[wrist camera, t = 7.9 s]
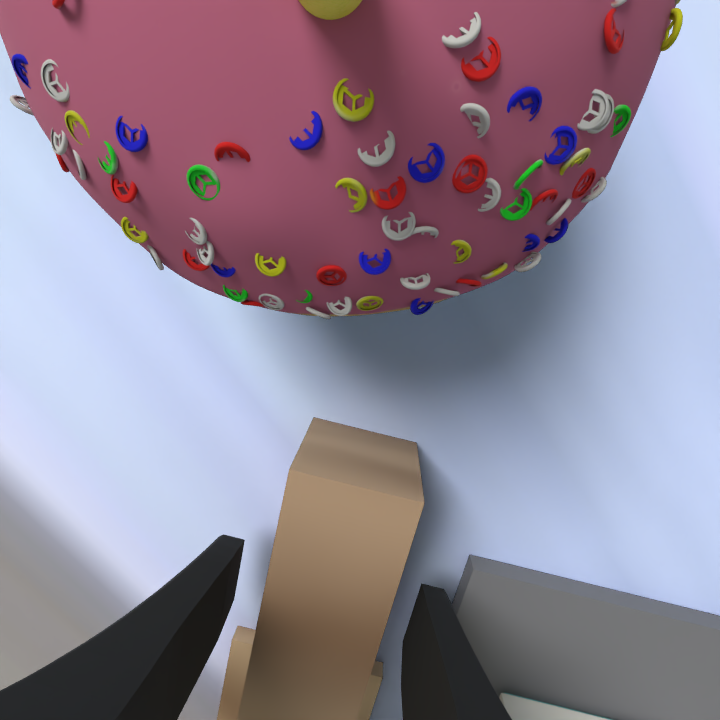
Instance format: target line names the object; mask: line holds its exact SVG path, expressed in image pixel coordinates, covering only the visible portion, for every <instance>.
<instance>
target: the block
mask: <svg viewBox="0 0 720 720" xmlns="http://www.w3.org/2000/svg"><path fill="white" fill-rule="evenodd" d="M499 698H500V700H501V702H502V704H503V705H504V707H505V709H506V710H507V712H508V714H509V715H510V717H511V719H512V720H613V719H609V718H605V717H601V716H597V715H593V714H589V713H585V712H581V711H577V710H573V709H569V708H565V707H561V706H557V705H553V704H549V703H545V702H541V701H537V700H533V699H529V698H525V697H521V696H517V695H513V694H509V693H505V692H504V693H501V694H500V697H499Z"/></svg>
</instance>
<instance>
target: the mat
mask: <svg viewBox="0 0 720 720" xmlns="http://www.w3.org/2000/svg"><path fill="white" fill-rule="evenodd" d="M452 607H453V609H454V611H455V613H456V616H457V618H458V620H459V622H460V624H461V626H462V628H463V630H464V632H465V634H466V636H467V639H468V641H469V643H470V645H471V647H472V649H473V651H474V652H475V654H476V656H477V658H478V660H479V662H480V664H481V666H482V668H483V670H484V671H485V673H486V675H487V677H488V679H489V681H490V682H491V684H492V686H493V688H494V690H495V691H496V693H497V695H498V697H500V694H501V693H504V692H505V693H509V694H513V695H517V696H521V697H525V698H529V699H533V700H537V701H541V702H545V703H549V704H553V705H557V706H561V707H565V708H569V709H573V710H577V711H581V712H585V713H589V714H593V715H597V716H601V717H605V718H609V719H613V720H720V616H718V615H714V614H709V613H705V612H701V611H697V610H693V609H689V608H685V607H681V606H677V605H673V604H669V603H665V602H661V601H657V600H652V599H648V598H644V597H640V596H636V595H632V594H628V593H624V592H620V591H616V590H612V589H608V588H604V587H600V586H595V585H591V584H587V583H583V582H579V581H575V580H571V579H567V578H563V577H559V576H555V575H551V574H547V573H543V572H538V571H534V570H530V569H526V568H522V567H518V566H514V565H510V564H506V563H502V562H498V561H494V560H490V559H485V558H481V557H477V556H473V555H469V558H468V561H467V563H466V566H465V569H464V572H463V575H462V578H461V580H460V583H459V586H458V589H457V592H456V594H455V597H454V600H453V603H452Z"/></svg>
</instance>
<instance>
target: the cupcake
mask: <svg viewBox="0 0 720 720" xmlns="http://www.w3.org/2000/svg"><path fill="white" fill-rule="evenodd" d="M679 2H680V0H0V34H1V36H2V39H3V42H4V44H5V47H6V50H7V52H8V55H9V58H10V60H11V63H12V66H13V68H14V71H15V74H16V77H17V79H18V82H19V84H20V87H21V89H22V91H23V94H24V96H25V98H24V97H21V96H17V95H12V96H11V97H10V101H11V103H12V104H13V105H14V106H16V107H17V108H19V109H20V110H22V111H24V112H26V113H28V114H31V115H34V116H35V118H36V119H37V121H38V123H39V125H40V126H41V128H42V129H43V131H44V132H45V134H46V135H47V137H48V139H49V140H50V142H51V144H52V148H53V150H54V152H55V153H56V156H57V159H58V161H59V163H60V165H61V167H62V169H63V170H64V171H65V172H69V171H70V172H71V173H72V175H73V176H74V177H75V179H76V180H77V181H78V182H79V183H80V185H81V186H82V187H83V188H84V189H85V190H86V191H87V193H88V194H89V195H90V196H91V197H92V198H93V199H94V200H95V201H96V202H97V203H98V204H99V205H100V206H101V207H102V208H103V209H104V210H105V211H106V212H107V213H108V215H109V216H111V217H112V218H113V219H114V220H115V221H116V222H117V223H118V224H119V225H120V226H121V227H122V230H123V232H124V233H125V235H126V236H127V237H128V238H129V239H130V240H132V241H134V242H136V243H139V244H140V245H141V246H142V247H144V248H145V249H146V250H147V251H148V252H149V253H150V254H151V256H152V258H153V260H154V261H155V263H156V265H157V266H158V268H159V269H160V270H163V269H164V267H163V264H164V265H166V266H167V267H168V268H170V269H171V270H173V271H174V272H175V273H177V274H179V275H180V276H182V277H183V278H185V279H187V280H189V281H190V282H192V283H194V284H196V285H198V286H200V287H203V288H205V289H207V290H209V291H212V292H214V293H217V294H219V295H222V296H225V297H228V298H230V299H232V300H234V301H237V302H241V304H243V305H252V306H259V307H263V308H267V309H272V310H276V311H281V312H287V313H294V314H301V315H311V316H319V317H322V318H325V319H330V318H331V316H357V315H368V314H377V313H385V312H392V311H400V310H406V309H410V310H411V312H412V313H413V314H415V315H420V314H423V313H425V312H426V311H428V310H429V309H430V308H431V306H432V305H433V304H434V303H438V302H440V301H443V300H445V299H448V298H451V297H454V296H459V295H460V294H463V293H466V292H469V291H472V290H474V289H477V288H480V287H482V286H485V285H487V284H490V283H492V282H494V281H496V280H498V279H501V278H502V277H504V276H506V275H508V274H510V273H511V272H513V271H514V270H516V271H517V272H525V271H528V270H530V269H532V268H534V267H535V266H536V265H537V264H538V263H539V262H540V260H541V254H540V253H539V251H540V250H541V249H543V248H544V247H545V246H546V245H547V244H548V243H553V242H556V241H558V240H559V239H561V238H562V237H563V235H564V234H565V233H566V231H567V228H568V224H569V223H570V222H571V221H572V220H573V219H574V218H575V217H576V216H577V214H578V213H579V212H580V211H581V210H582V209H583V208H584V207H585V205H586V204H587V203H588V202H589V201H591V200H593V199H595V198H596V197H597V196H598V195H600V194H601V193H602V191H603V190H604V189H605V187H606V184H607V181H606V179H605V177H606V176H607V174H608V172H609V171H610V169H611V167H612V164H613V162H614V160H615V158H616V156H617V154H618V151H619V149H620V147H621V145H622V143H623V140H624V138H625V136H626V134H627V132H628V130H629V128H630V125H631V123H632V121H633V119H634V117H635V114H636V112H637V110H638V107H639V105H640V103H641V101H642V98H643V96H644V93H645V91H646V88H647V86H648V83H649V81H650V78H651V76H652V73H653V71H654V68H655V65H656V63H657V60H658V57H659V55H660V52H661V51H665V50H667V49H668V48H669V47H670V46H671V45H672V44H673V43H674V41H675V40H676V38H677V36H678V34H679V32H680V29H681V26H682V20H683V16H682V12H681V10H680V9H679V8H675V6H676V4H678V3H679ZM671 20H673V21H672V22H671ZM670 22H671V24H670ZM672 26H673V31H672V34H671V35H670V36H669V38H668V35H669V30H670V29H671V28H672ZM19 102H20V103H22V104H23V105H25V106H23V105H22V104H20V103H19ZM27 104H28V105H27ZM28 107H29V108H30V109H29V108H28ZM531 258H532V259H531ZM529 259H530V260H529ZM531 261H532V263H531V264H529V265H526V264H527V263H529V262H531ZM162 263H163V264H162ZM522 265H523V266H522ZM422 306H424V307H423V308H422V309H418V307H422Z"/></svg>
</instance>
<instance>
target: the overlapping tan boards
mask: <svg viewBox="0 0 720 720" xmlns="http://www.w3.org/2000/svg"><path fill="white" fill-rule="evenodd" d="M423 506H424V495H423V488H422V480H421V472H420V465H419V457H418V449H417V443H416V442H412V441H408V440H404V439H400V438H395V437H391V436H387V435H383V434H379V433H375V432H371V431H367V430H363V429H359V428H355V427H351V426H347V425H343V424H339V423H335V422H331V421H327V420H323V419H319V418H313V420H312V422H311V424H310V426H309V428H308V431H307V433H306V435H305V437H304V439H303V441H302V443H301V445H300V448H299V450H298V452H297V454H296V456H295V458H294V460H293V462H292V465H291V467H290V469H289V473H288V478H287V482H286V487H285V492H284V497H283V502H282V506H281V511H280V516H279V521H278V526H277V530H276V535H275V540H274V545H273V550H272V555H271V559H270V564H269V569H268V574H267V579H266V583H265V588H264V593H263V598H262V603H261V607H260V612H259V617H258V622H257V627H256V630H253V629H249V628H245V627H241V626H237V629H236V631H235V634H234V636H233V639H232V643H231V648H230V653H229V659H228V664H227V669H226V674H225V680H224V685H223V690H222V695H221V701H220V706H219V711H218V717H217V720H369V718H370V715H371V712H372V709H373V706H374V703H375V700H376V697H377V694H378V690H379V687H380V684H381V681H382V678H383V662H379V661H375V659H376V656H377V652H378V649H379V646H380V643H381V640H382V637H383V633H384V630H385V627H386V624H387V621H388V617H389V614H390V611H391V608H392V605H393V602H394V598H395V595H396V592H397V589H398V586H399V583H400V579H401V576H402V573H403V570H404V567H405V563H406V560H407V557H408V554H409V551H410V548H411V544H412V541H413V538H414V535H415V532H416V529H417V525H418V522H419V519H420V516H421V513H422V509H423Z"/></svg>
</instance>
